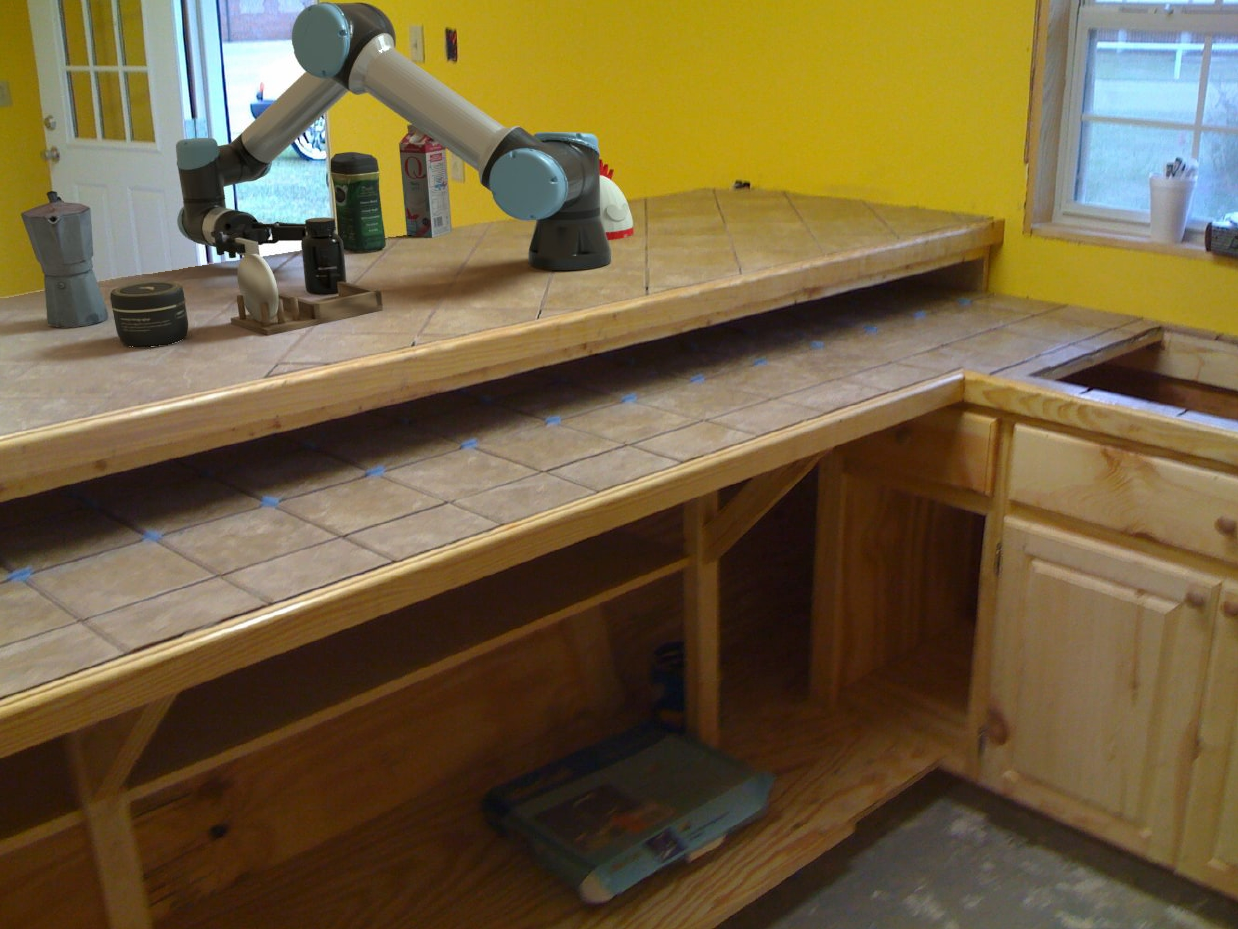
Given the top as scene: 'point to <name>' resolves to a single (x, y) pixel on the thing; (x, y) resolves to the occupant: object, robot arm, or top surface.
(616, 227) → the kitchen timer
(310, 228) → the supplement bottle
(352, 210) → the coffee jar
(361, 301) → the dish rack
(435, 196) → the juice carton
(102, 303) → the moka pot
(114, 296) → the jar
